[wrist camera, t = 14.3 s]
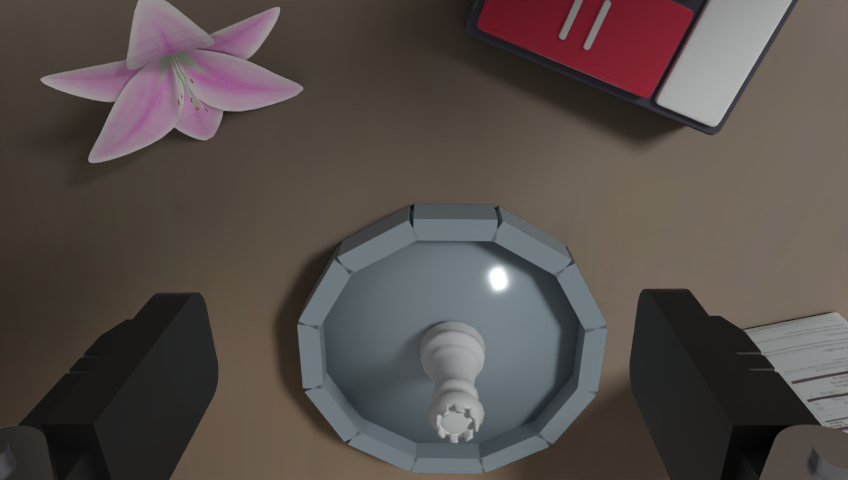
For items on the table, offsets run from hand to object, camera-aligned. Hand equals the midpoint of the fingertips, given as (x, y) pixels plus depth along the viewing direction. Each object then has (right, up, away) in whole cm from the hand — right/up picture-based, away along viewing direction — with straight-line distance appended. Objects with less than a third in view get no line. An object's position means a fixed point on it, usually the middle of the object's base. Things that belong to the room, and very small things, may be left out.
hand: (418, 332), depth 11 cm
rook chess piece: (+2, -5, +30) cm, 31 cm away
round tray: (+2, -5, +31) cm, 31 cm away
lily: (-12, +12, +24) cm, 29 cm away
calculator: (+11, +16, +22) cm, 29 cm away
